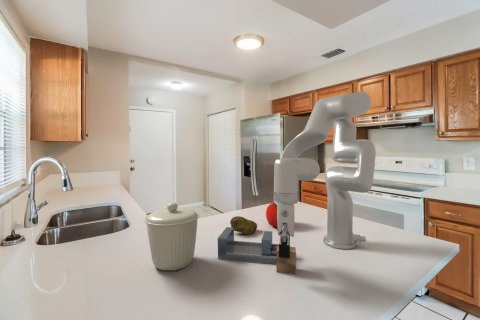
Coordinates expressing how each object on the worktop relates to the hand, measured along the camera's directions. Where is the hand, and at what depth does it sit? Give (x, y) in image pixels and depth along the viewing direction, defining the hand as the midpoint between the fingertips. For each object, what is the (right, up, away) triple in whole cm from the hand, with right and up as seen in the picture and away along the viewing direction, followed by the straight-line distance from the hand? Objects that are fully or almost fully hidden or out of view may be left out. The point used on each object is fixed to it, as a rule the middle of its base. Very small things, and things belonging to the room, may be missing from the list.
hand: (284, 250), depth 74 cm
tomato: (+6, -5, +44) cm, 44 cm away
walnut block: (+1, -7, +1) cm, 7 cm away
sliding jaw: (-1, -4, +10) cm, 11 cm away
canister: (-37, -7, +6) cm, 38 cm away
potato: (-12, -5, +34) cm, 37 cm away
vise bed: (-11, -6, +12) cm, 17 cm away
